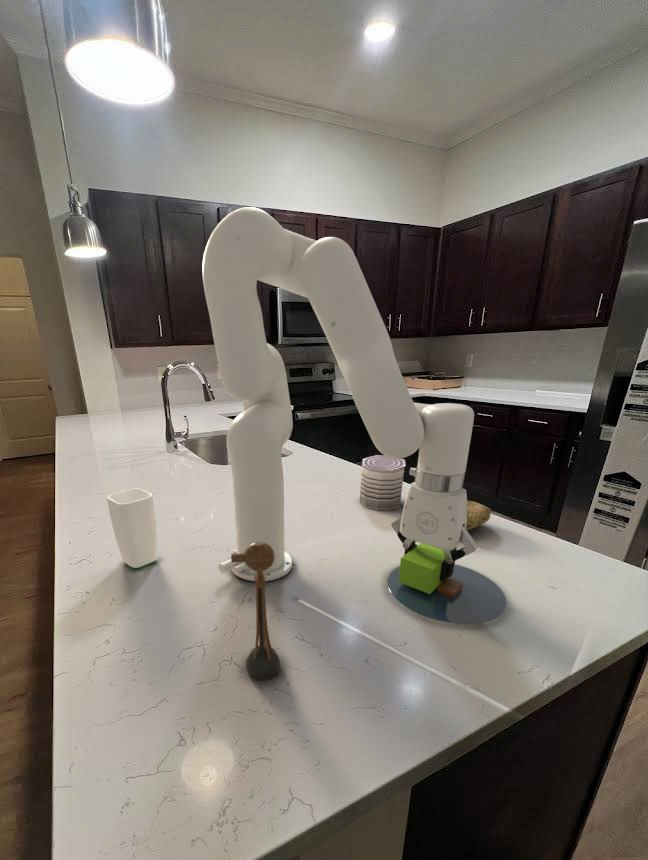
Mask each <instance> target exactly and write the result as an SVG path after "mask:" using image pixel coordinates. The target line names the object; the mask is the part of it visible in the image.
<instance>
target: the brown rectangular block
mask: <svg viewBox="0 0 648 860" xmlns="http://www.w3.org/2000/svg"><path fill="white" fill-rule="evenodd" d="M462 589H463V583H461V582H458V581H455V580H452V579H450V578H447V579H446V580H445V581H444V582H442V583H441V584H440V585H439V586H438V588H437V592H438V593H441V594H443V595H446V596H448V597H451V598H454V597H455V596H456V595H457V594H458V593H459V592H460V591H461V590H462Z"/></svg>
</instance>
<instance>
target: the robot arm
mask: <svg viewBox="0 0 648 860" xmlns="http://www.w3.org/2000/svg"><path fill="white" fill-rule="evenodd" d="M201 271H202V283H203V291H204V296H205V301H206V306H207V310H208V315H209V321H210V326H211V333H212V338H213V344H214V349H215V354H216V359H217V363H218V364H217V365H218V370H219V376H220V380H221V384H222V386H223V389H224V390H225V392H226V393H227V394H228V395H229V397H231V398H233V399H235V400H236V401H240V402H242V406H243V411H242V412H241V413H239V414H238V415H237V416H236V417H235V418H234V419H233V421H232V422H231V423H230V426H229V427H228V430H227V435H226V448H227V455H228V458H229V462H230V463H229V464H230V469H231V476H232V488H233V501H234V502H233V503H234V515H235V516H234V517H235V518H234V519H235V520H234V521H235V536H236V548H235V549H233V550H232V554H244V552H245V550H246V549H247V547H248V546H249V545H251V544H252V543H254V542H264V543H266V544H268V545H270V546H271V548H272V549H273V550H274V554H275V560H274V563H273V565H272V566H271V567H270V568H269V569H267V570H265V571H263V574H265V575H266V579H265V582H269V581H270V582H271V581H274V580H278V579H280V578H283V577H284V576H286V575H287V574H288V573H290V571H291V570H292V568H293V558H292V556H291V555H290V553H288V552H287V551H286V550H285V477H284V467H283V459H282V451H283V450H282V449H283V447H284V446H285V444H286V443H287V442H288V440H289V439H290V437H291V435H292V432H293V428H294V422H293V421H294V420H293V413H292V406H291V405H292V404H291V399H290V391H289V383H288V378H287V377H288V376H287V371H286V367H285V366H286V365H285V363H284V360H283V357H282V355H281V353H280V352H279V350H277V348H275V347H274V346H273V345H272V344H270V343H268V342H267V337H266V332H265V331H266V330H265V325H264V316H263V311H262V306H261V303H260V299H259V296H258V290H257V289H258V287H257V285H258V281H259V282H262V283H264V284H267V285H270V286H273V287H276V288H279V289H282V290H285V291H287V292H289V293H292V294H296V295H298V296H301V297H304V298H307V299H308V301H309V303H310V305H311V308H312V310H313V312H314V314H315V316H316V318H317V320H318V322H319V324H320V327H321V329H322V331H323V333H324V335H325V337H326V339H327V342H328V345H329V346H330V348H331V350H332V353H333V355H334V358H335V360H336V362H337V366H338V368H339V370H340V372H341V375H342V376H343V379H344V381H345V383H346V385H347V387H348V390H349V393H350V395H351V397H352V399H353V401H354V404H355V406H356V409H357V411H358V413H359V415H360V417H361V420H362V422H363V424H364V426H365V429H366V430H367V433H368V436H369V437H370V439H371V441H372V443H373V445H374V447H375V448H376V449H377V450H378V451H379V452H380V453H381V455H385V456H387V457H390V458H397V459H399V458H401V459H404V458H407V457H409V456H412V455H413V454H414V453H416V452H417V451H418V457H417V466H416V467H413V466H412V467H410V468H409V472H408V473H409V475H410V476H413V477H414V481H413V482H411V483H410V485H409V488H408V490H407V493H406V496H405V500H404V504H403V509H402V513H401V517H399V518H397V519H396V520H394V521H393V522H391V524H390V527H391V528H392V529H393V531H394V532H395V534H397V537H398V539H399V540H400V542H401V543H402V548H403V549H404V554H403V556H404V555H406V554H407V553H408V552H410V551H411V550H412V549H413V548H415V547H416V546H417V545H418V544H417V543H419V544H420V543H423V544H427V545H430V546H433V547H436V548H440V549H443V552H444V556H445V560H444V561H443V562H442V566H441V573H440V581H441V582H444V581H445V580H446V579H447V578H448V577H451V576H452V574H453V570H454V564H455V563H456V561H458V560H460V559H462V558H463V557H464V558H465V557H466V556H468V555H471V554H473V553H475V552H476V551H477V550H478V549H479V545H478V544H477V542H476V541H475V540H474V538H473V537H472V535H470V533H469V531H468V530H466V522H467V501H468V496H467V489H465V488H464V483H465V477H466V471H467V465H468V457H469V452H470V445H471V440H472V433H473V427H474V419H475V412H474V410H473V408H472V407H471V406H469V405H466V404H463V403H455V402H454V403H453V402H443V403H441V402H440V403H433V404H429V403H421V402H415V401H413V398H412V396H411V394H410V391H409V389H408V386H407V384H406V381H405V379H404V377H403V374H402V373H401V370H400V367H399V364H398V361H397V359H396V356H395V353H394V349H393V343H392V340H391V337H390V335H389V333H388V330H387V327H386V325H385V323H384V320H383V318H382V316H381V313H380V311H379V309H378V307H377V303H376V301H375V300H374V299H375V298H374V297H373V295H372V292H371V290H370V288H369V285H368V282H367V280H366V278H365V276H364V273H363V271H362V268H361V266H360V263H359V262H358V259H357V257H356V255H355V252H354V250H353V249H352V248H351V246H350V245H349V244H348V243H347V242H346V241H345V240H343V239H341V238H339V237H335V236H326V237H323V238H320V239H318V240H316V239H313V238H310V237H307V236H305V235H302V234H299V233H297V232H293V231H291V230H289V229H286V228H284V227H283V226H282V225H281V224H280V223H279V222H278V220H276V219H275V218H274V217H273V216H271V215H270V214H269V213H268V212H266V211H265V210H262V209H260V208H257V207H253V206H243V207H240V208H237V209H235V210H233V211H231V212H229V213H228V214H227V215H225V216H224V217H223V218H222V219H221V220H220V221H219V223H217V225H216V226H215V228H214V229H213V231H212V232H211V234H210V236H209V238H208V241H207V243H206V246H205V250H204V252H203V258H202V270H201ZM416 542H417V543H416ZM459 543H462V544H463V545H464V547H461V548H459V549H458V547H457V546H458V545H459ZM218 570H219V572H220V573H221V574H226V573H227V572H229V571H231V572H232V573H233V574H234V575H235V576H236V577H238V578H241V579H242V580H245V581H250V582H255V579H254V575H256V574H257V571H254V570H251V569H250V568H249V567H248V566H247V565H246V563H245V562H231V557H230V558H229V559H227V560H225V561H223V562H221V563H219V564H218Z"/></svg>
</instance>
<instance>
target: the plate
mask: <svg viewBox="0 0 648 860" xmlns="http://www.w3.org/2000/svg"><path fill="white" fill-rule="evenodd" d="M399 571H400V565H399V566H397V567H396V568H394V569H393V570H392V571H391V572H390V573H389V574H388V576H387V580H386V583H387V588H388V590H389V592H390V594H391V595H392V596H393V598H394V599H395V600H396V601H397V602H398V603H400V605H402V606H404V607H405V608H406V609H408V610H410V611H412V612H414V613H416V614H418V615H420V616H423V617H425V618H428V619H431V620H435V621H439V622H443V623H449V624H457V625H474V624H475V625H477V624H483V623H486V622H490V621H492V620H495V619H497V618H498V617H500V616H501V615H502V614H503V613H504V612H505V610H506V607H507V598H506V595H505V594H504V592H503V590H502V588H500V586H498V585H497V583H495V582H494V581H493V580H492V579H490V578H489V577H487V576H485V575H484V574H482V573H480V572H478V571H476V570H474V569H472V568H468V567H466V566H462V565H460V564H454V570H453V574H452V576H451V577H448V578H450V579H452V580H455V581H458V582H461V583H463V589H462V590H461V591H460V592H459V593H458V594H457V595H456V596H455V597H454V598H451V597H448V596H446V595H443V594H441V593H438V592H437V588H438V587H437V588H436V589H435V590H434V591H433V592H432V593H431V594H428V593H425V592H423V591H420V590H418V589H415V588H413V587H410V586H408V585H405V584H403V583H400V582H398V581H399Z"/></svg>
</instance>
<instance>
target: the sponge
mask: <svg viewBox="0 0 648 860" xmlns="http://www.w3.org/2000/svg"><path fill="white" fill-rule="evenodd" d="M491 513H492V510H491V508H490V507H488V506H486V505H484V504H482V503H480V502H476V501H472V500H471V501H470V500H467V522H466V530H467V531H471V530H472V529H475V528H477V527H479V526H481V525H484V524H485V523H487V522H488V521H489V520H490V519H491Z"/></svg>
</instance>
